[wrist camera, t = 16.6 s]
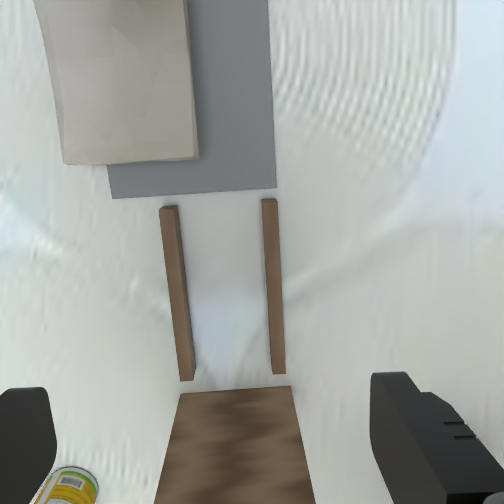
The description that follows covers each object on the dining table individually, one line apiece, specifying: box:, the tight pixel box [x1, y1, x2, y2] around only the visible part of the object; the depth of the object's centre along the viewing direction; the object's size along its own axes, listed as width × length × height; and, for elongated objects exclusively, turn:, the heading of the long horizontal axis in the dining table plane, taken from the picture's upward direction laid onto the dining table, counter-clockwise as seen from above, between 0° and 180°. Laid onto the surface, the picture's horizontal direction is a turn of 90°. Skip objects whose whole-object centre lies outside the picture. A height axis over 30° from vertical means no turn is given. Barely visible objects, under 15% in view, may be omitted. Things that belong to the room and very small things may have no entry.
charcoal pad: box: [107, 0, 277, 199], centre depth 30 cm, size 14×24×1 cm, turn 4°
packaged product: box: [34, 0, 199, 165], centre depth 28 cm, size 18×5×10 cm
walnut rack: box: [154, 199, 316, 504], centre depth 30 cm, size 11×20×14 cm, turn 4°
